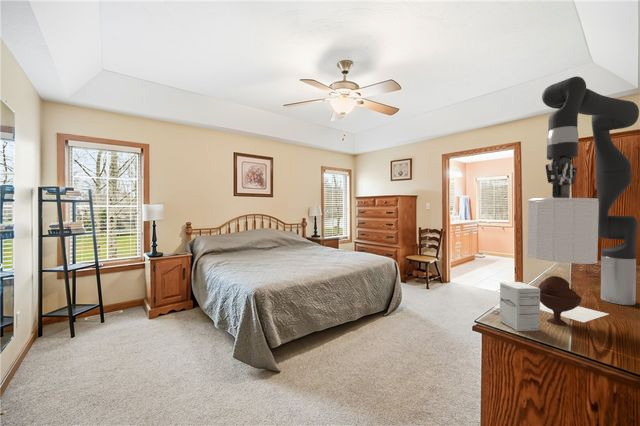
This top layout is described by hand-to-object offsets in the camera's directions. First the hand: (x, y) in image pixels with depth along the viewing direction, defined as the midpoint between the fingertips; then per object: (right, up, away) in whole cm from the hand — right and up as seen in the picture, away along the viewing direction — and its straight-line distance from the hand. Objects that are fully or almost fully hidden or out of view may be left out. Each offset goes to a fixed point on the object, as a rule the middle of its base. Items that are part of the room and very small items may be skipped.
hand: (560, 197), depth 89 cm
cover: (-1, -20, 0) cm, 20 cm away
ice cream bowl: (-3, -40, -2) cm, 40 cm away
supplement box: (-16, -40, -4) cm, 43 cm away
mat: (+9, -39, +9) cm, 41 cm away
